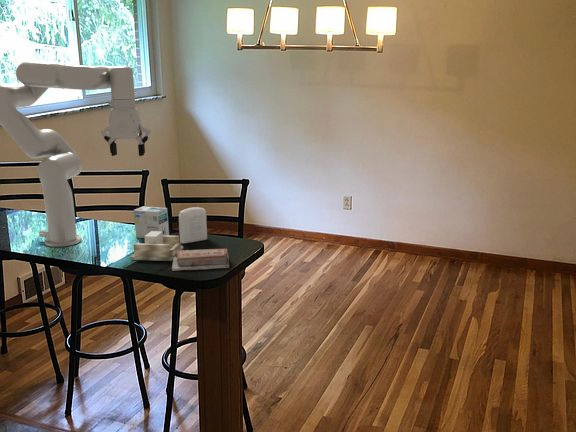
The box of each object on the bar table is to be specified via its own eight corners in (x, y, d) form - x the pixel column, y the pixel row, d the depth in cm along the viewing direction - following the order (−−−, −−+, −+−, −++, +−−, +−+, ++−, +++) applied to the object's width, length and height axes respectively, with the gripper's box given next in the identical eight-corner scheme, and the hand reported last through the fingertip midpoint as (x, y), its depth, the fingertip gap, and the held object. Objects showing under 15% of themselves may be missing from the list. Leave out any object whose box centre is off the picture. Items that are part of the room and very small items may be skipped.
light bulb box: (169, 235, 224) (167, 207, 221) (160, 240, 218) (158, 211, 215) (145, 233, 228) (142, 205, 225) (135, 237, 221) (132, 209, 219)
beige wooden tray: (130, 259, 197) (129, 245, 196) (144, 247, 210) (143, 233, 208) (171, 260, 195) (170, 246, 194) (183, 248, 208) (182, 234, 207)
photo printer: (204, 237, 221) (202, 204, 218) (209, 239, 218) (207, 206, 215) (178, 241, 216) (176, 208, 213) (183, 244, 212) (181, 211, 209)
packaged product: (228, 245, 197) (229, 254, 187) (228, 259, 198) (229, 269, 188) (172, 247, 195) (170, 257, 185) (173, 261, 196) (171, 272, 186)
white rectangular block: (145, 253, 200) (144, 236, 199) (152, 247, 206) (151, 231, 204) (157, 253, 200) (156, 236, 198) (163, 248, 205) (162, 231, 204)
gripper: (94, 105, 196) (99, 157, 201) (144, 105, 194) (148, 157, 199) (103, 103, 204) (108, 153, 208) (152, 103, 201) (156, 154, 206)
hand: (127, 155), depth 203 cm, fingers open, 9 cm apart
